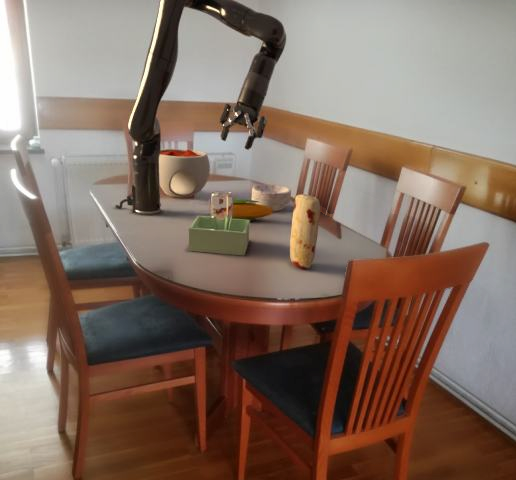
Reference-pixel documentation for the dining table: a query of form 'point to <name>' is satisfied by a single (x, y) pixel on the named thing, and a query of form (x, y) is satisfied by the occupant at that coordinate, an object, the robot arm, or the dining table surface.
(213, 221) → the beer glass
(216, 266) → the dining table surface
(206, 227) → the tub
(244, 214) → the corn
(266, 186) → the paper bowls
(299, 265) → the food model
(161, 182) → the pot
